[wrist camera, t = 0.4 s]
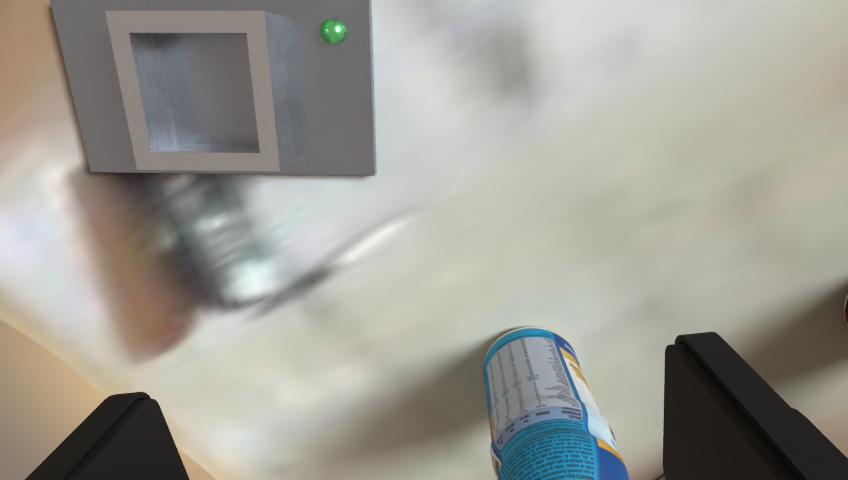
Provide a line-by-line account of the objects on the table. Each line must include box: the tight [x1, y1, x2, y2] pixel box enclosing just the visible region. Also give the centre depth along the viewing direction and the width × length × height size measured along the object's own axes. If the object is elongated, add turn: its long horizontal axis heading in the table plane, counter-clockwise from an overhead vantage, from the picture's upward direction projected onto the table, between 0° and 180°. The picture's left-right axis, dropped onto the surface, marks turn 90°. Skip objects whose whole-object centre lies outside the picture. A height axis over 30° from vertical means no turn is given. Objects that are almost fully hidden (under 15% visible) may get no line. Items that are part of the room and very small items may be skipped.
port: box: [50, 0, 376, 176], centre depth 34 cm, size 12×22×4 cm, turn 90°
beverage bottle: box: [483, 327, 629, 480], centre depth 34 cm, size 8×8×20 cm
